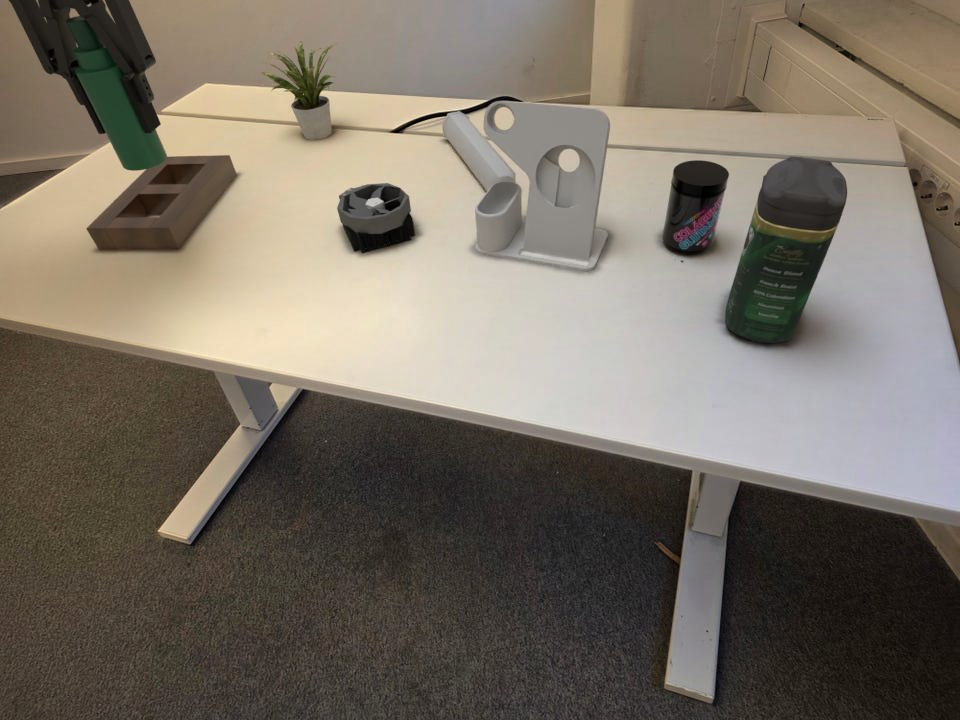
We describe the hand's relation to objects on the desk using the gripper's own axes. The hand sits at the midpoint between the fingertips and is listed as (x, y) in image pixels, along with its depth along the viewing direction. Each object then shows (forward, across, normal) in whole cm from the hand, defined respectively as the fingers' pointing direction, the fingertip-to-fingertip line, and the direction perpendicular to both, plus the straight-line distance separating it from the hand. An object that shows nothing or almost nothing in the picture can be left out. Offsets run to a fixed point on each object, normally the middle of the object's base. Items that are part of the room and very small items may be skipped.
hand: (130, 128), depth 77 cm
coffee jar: (+18, -78, +13) cm, 82 cm away
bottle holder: (+19, +8, -11) cm, 23 cm away
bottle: (+4, 0, 0) cm, 4 cm away
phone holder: (+19, -52, -2) cm, 56 cm away
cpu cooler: (+19, -28, -5) cm, 34 cm away
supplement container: (+18, -72, -3) cm, 75 cm away
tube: (+19, -41, -25) cm, 52 cm away
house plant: (+19, -9, -41) cm, 46 cm away
